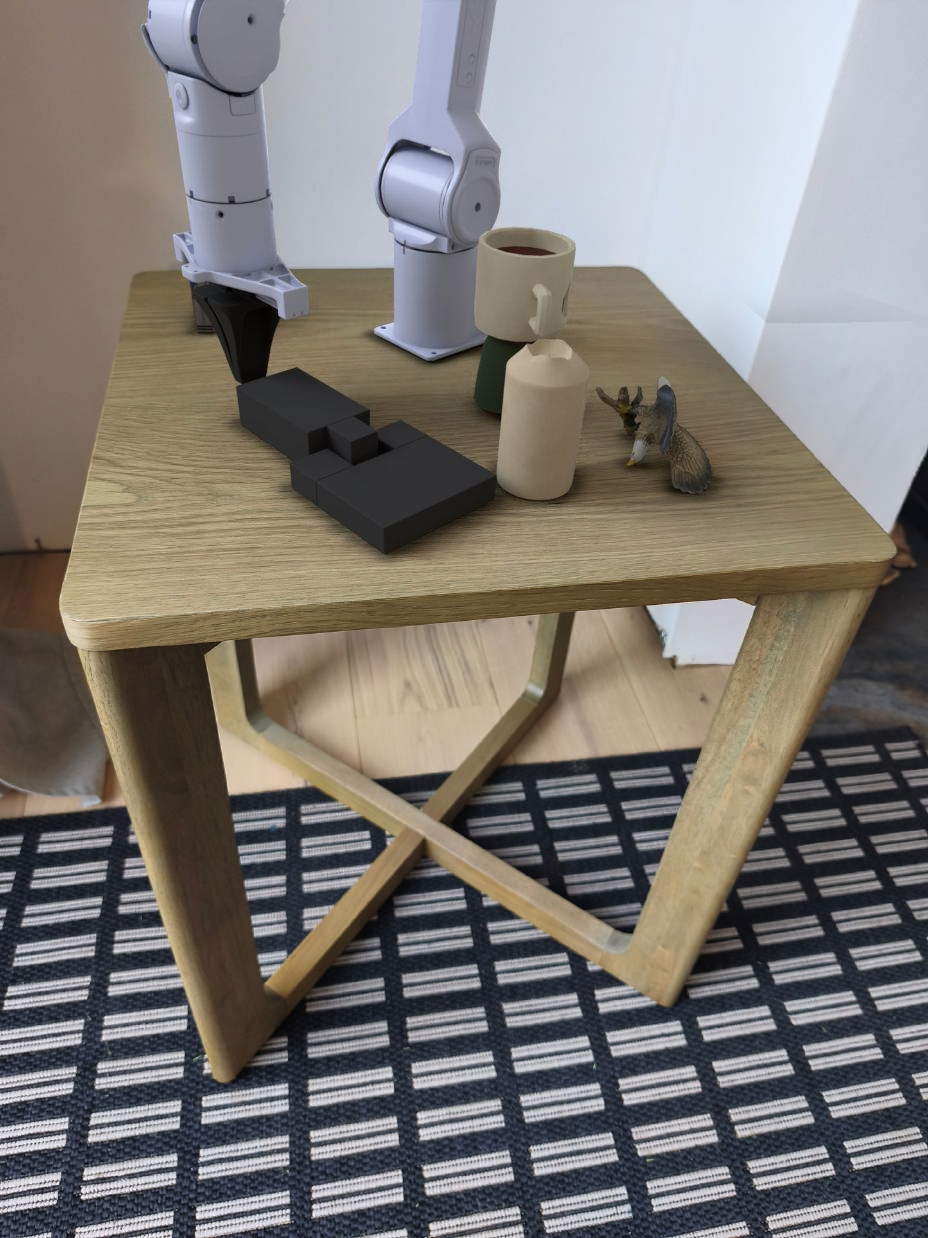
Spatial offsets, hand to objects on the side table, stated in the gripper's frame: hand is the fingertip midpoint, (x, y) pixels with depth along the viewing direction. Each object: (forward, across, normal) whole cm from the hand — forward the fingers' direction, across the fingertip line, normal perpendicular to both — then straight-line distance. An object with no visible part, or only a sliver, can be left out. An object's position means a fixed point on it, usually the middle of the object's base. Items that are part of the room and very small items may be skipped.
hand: (250, 379), depth 67 cm
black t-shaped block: (+2, +8, 0) cm, 9 cm away
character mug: (+2, +13, +16) cm, 21 cm away
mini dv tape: (+2, -17, +7) cm, 19 cm away
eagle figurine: (+2, +26, +18) cm, 32 cm away
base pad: (+2, +17, 0) cm, 17 cm away
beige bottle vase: (+2, +22, +9) cm, 24 cm away
